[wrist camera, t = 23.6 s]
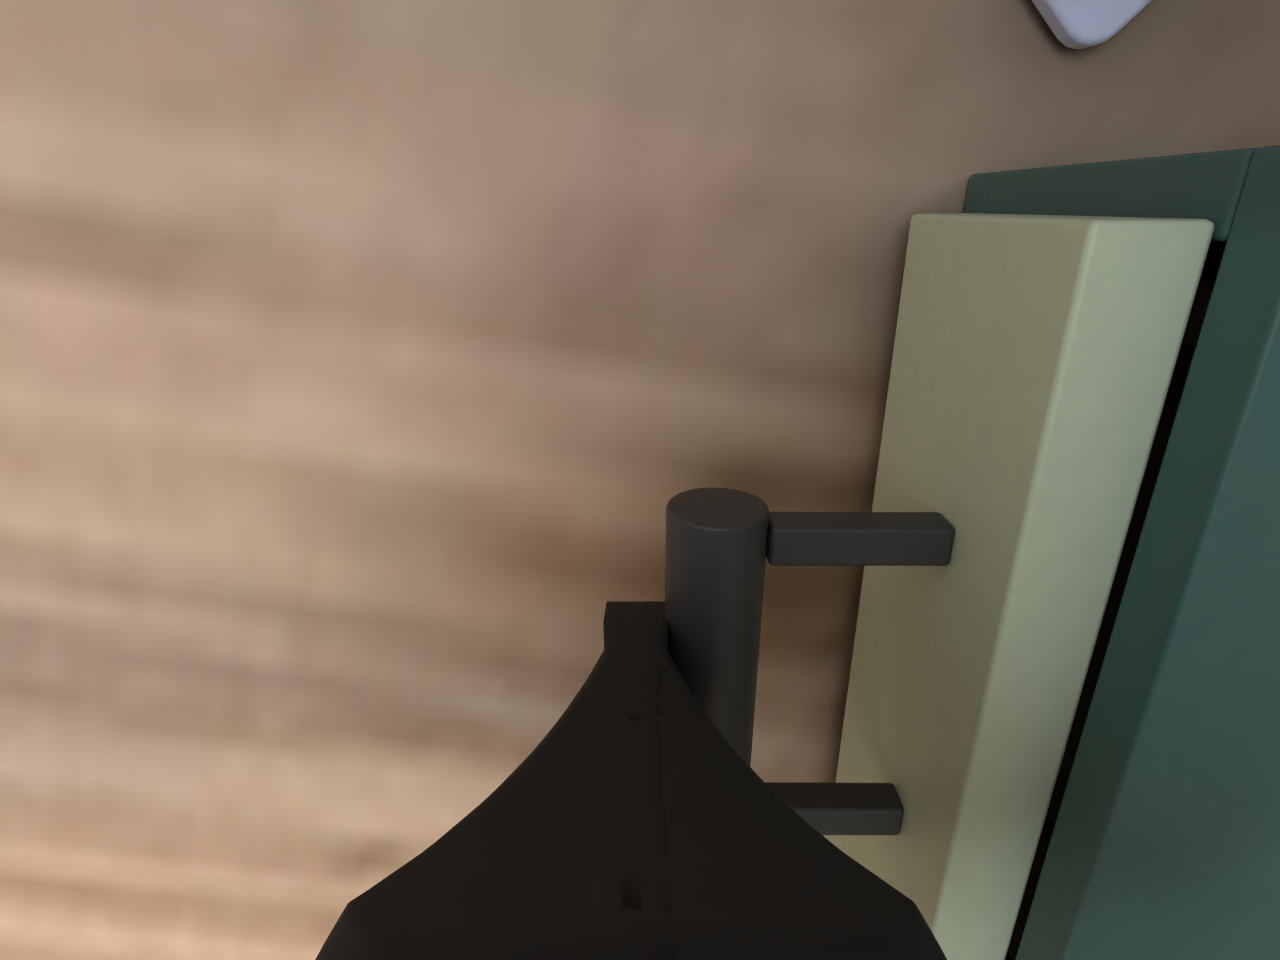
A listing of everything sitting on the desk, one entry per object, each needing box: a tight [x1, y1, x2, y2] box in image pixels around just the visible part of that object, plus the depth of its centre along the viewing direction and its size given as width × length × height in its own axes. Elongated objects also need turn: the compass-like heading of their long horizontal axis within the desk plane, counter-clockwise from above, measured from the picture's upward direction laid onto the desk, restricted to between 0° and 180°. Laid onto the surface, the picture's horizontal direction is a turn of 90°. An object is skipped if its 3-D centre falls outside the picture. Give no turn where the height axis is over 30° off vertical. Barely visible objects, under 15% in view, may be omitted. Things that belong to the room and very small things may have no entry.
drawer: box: [665, 213, 1221, 960], centre depth 11 cm, size 17×13×5 cm
